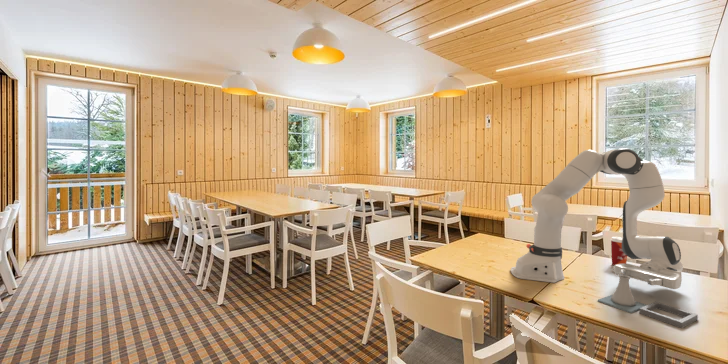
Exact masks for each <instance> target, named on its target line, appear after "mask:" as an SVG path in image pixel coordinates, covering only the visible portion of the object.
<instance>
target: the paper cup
mask: <svg viewBox="0 0 728 364" xmlns="http://www.w3.org/2000/svg"><path fill="white" fill-rule="evenodd" d="M622 239H623V236H622V237H621V236H612V237H611V238H610V240H609V241H610V243H611V245H610V246H611V248H610V249H611V251H610V252H611V253H610V254H611V264H612V266H614V265H616V264H622V263H626V264H627V260H628V256H627V255H626V254H625V253H624V252H623V251H622Z"/></svg>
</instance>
